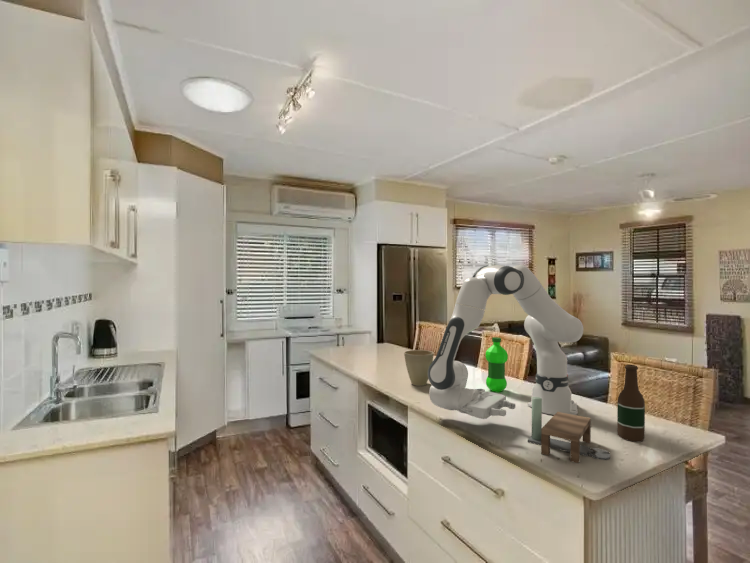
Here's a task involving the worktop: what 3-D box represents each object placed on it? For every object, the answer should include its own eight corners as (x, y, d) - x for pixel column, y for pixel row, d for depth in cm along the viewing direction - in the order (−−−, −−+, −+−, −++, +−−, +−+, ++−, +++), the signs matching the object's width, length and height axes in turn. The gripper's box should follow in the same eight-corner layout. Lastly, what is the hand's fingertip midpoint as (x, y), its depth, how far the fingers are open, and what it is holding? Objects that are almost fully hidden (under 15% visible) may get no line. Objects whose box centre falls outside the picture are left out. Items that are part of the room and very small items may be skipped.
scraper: (527, 442, 127) (527, 399, 127) (532, 436, 131) (532, 395, 131) (587, 456, 116) (587, 409, 116) (590, 449, 121) (590, 404, 121)
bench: (557, 433, 134) (557, 411, 134) (590, 441, 127) (590, 418, 127) (541, 453, 118) (541, 428, 118) (578, 463, 112) (578, 436, 112)
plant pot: (418, 378, 209) (418, 348, 209) (439, 384, 197) (440, 352, 197) (397, 383, 199) (397, 351, 199) (418, 389, 188) (418, 356, 188)
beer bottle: (614, 431, 136) (615, 362, 136) (641, 435, 133) (641, 364, 133) (619, 440, 129) (620, 366, 129) (647, 443, 126) (648, 368, 126)
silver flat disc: (591, 450, 121) (591, 446, 121) (612, 456, 117) (612, 451, 117) (586, 456, 117) (586, 452, 117) (607, 462, 113) (607, 457, 113)
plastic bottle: (482, 387, 192) (482, 336, 192) (503, 387, 192) (503, 336, 193) (488, 393, 182) (489, 339, 182) (511, 393, 182) (511, 339, 182)
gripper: (459, 399, 133) (499, 407, 125) (482, 387, 150) (519, 394, 141) (458, 418, 133) (499, 427, 125) (482, 404, 150) (519, 411, 141)
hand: (510, 409), depth 133 cm, fingers open, 8 cm apart
